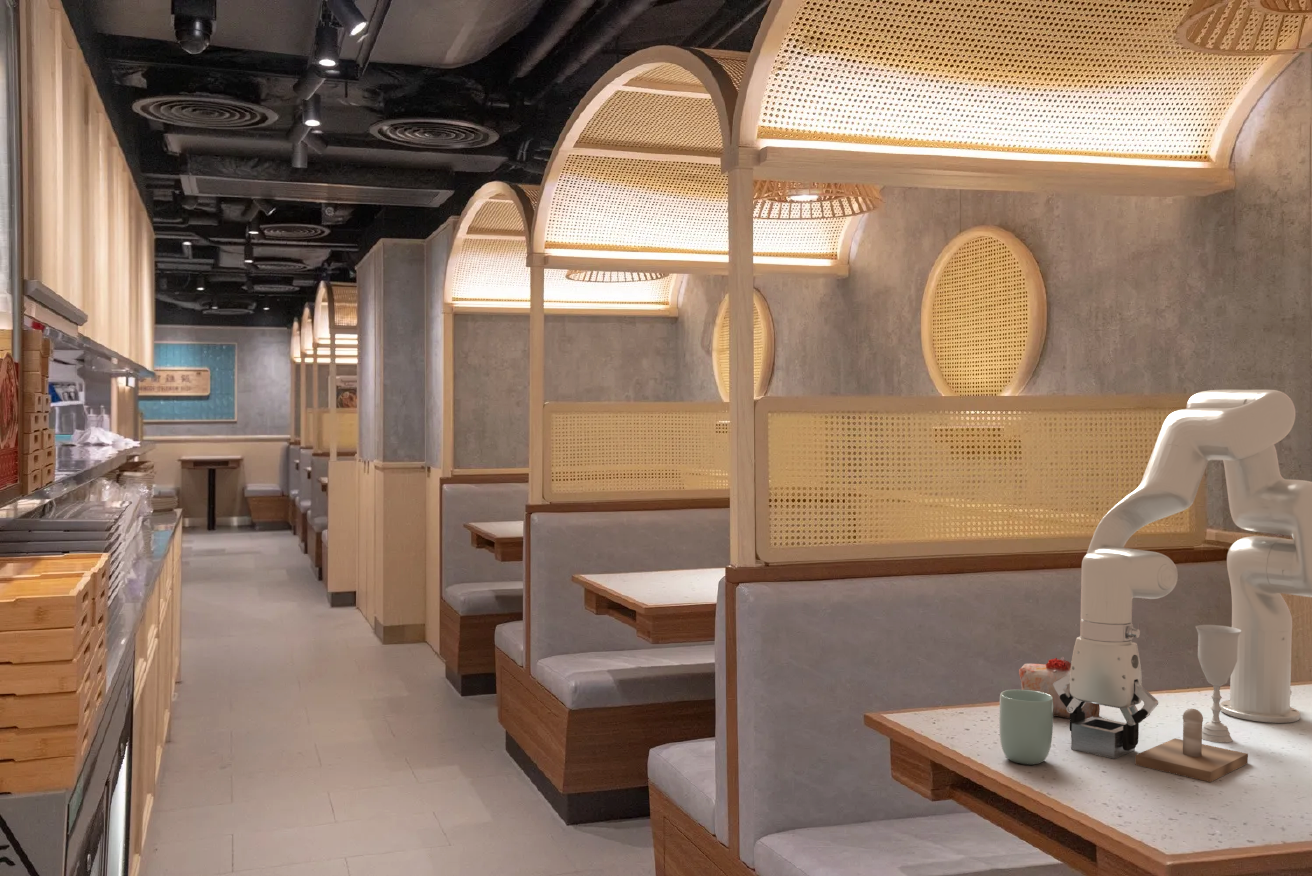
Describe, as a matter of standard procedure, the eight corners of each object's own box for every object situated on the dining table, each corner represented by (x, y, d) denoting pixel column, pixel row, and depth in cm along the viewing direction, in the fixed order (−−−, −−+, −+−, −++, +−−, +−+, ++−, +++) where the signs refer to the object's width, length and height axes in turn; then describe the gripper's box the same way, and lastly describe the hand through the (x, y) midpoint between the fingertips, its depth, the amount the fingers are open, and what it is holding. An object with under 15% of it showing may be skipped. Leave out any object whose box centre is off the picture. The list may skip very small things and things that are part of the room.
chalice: (1244, 745, 187) (1247, 633, 187) (1199, 742, 189) (1201, 631, 188) (1231, 733, 194) (1234, 626, 194) (1187, 730, 196) (1190, 623, 195)
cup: (996, 764, 175) (997, 698, 175) (1000, 751, 182) (1002, 687, 182) (1050, 771, 172) (1052, 703, 172) (1053, 757, 179) (1054, 692, 179)
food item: (1013, 713, 206) (1014, 657, 206) (1025, 704, 213) (1026, 650, 213) (1094, 724, 199) (1095, 667, 199) (1103, 715, 206) (1104, 659, 206)
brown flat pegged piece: (1174, 747, 185) (1176, 695, 185) (1247, 763, 177) (1249, 708, 177) (1135, 764, 176) (1136, 709, 176) (1210, 782, 168) (1211, 724, 168)
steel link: (1092, 741, 189) (1092, 716, 189) (1134, 750, 184) (1135, 725, 183) (1071, 749, 184) (1071, 723, 184) (1114, 759, 179) (1114, 733, 179)
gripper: (1171, 637, 180) (1168, 751, 180) (1065, 621, 192) (1062, 727, 193) (1150, 643, 174) (1147, 760, 175) (1042, 626, 187) (1040, 735, 187)
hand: (1103, 742), depth 184 cm, fingers open, 7 cm apart
